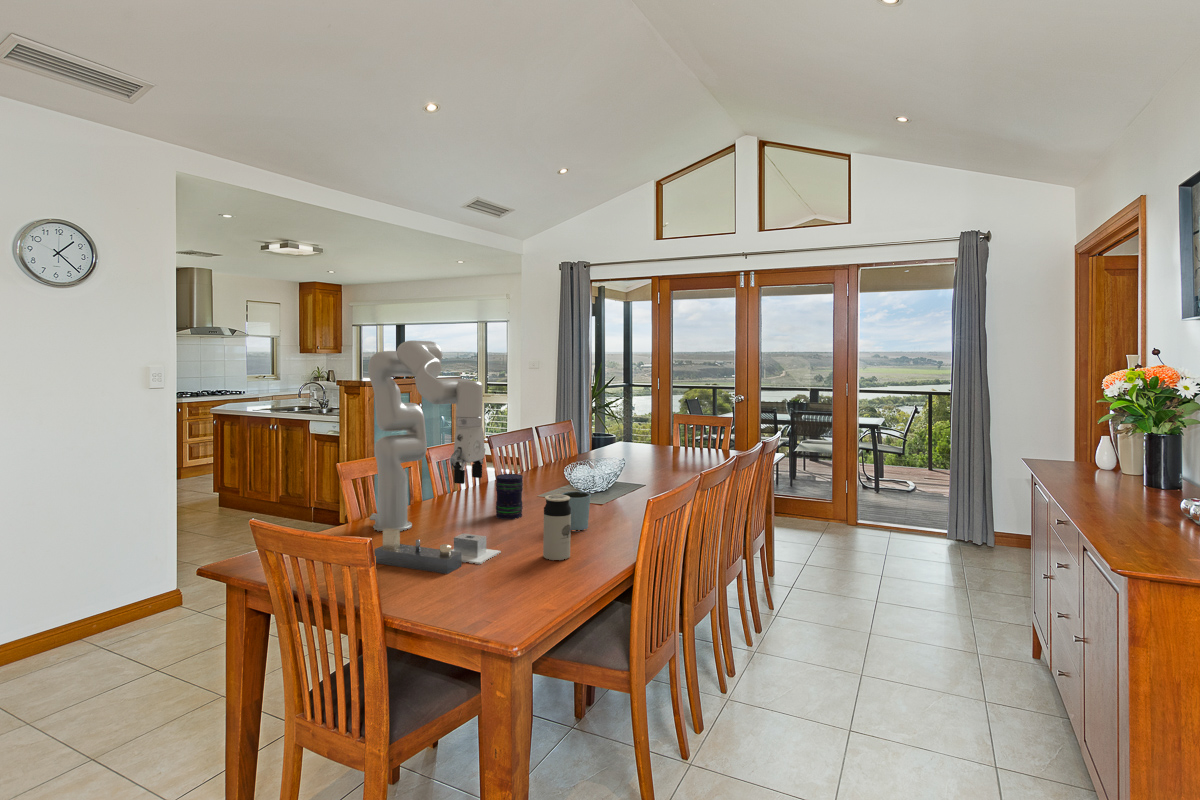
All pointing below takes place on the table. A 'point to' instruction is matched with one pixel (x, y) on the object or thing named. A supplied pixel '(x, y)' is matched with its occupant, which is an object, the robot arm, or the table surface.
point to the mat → (480, 559)
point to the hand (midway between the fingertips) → (468, 480)
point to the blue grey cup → (579, 509)
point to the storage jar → (509, 496)
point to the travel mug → (557, 527)
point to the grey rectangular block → (470, 545)
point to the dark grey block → (416, 555)
